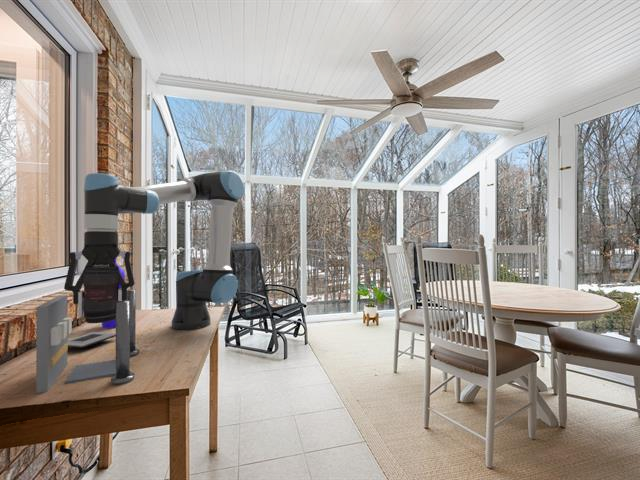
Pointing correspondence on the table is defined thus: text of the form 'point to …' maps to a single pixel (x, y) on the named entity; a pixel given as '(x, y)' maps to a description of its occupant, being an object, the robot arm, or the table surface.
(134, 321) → the post
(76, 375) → the pad
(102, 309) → the camera lens
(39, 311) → the breaker panel
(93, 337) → the electrical outlet
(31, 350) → the table surface
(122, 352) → the post
